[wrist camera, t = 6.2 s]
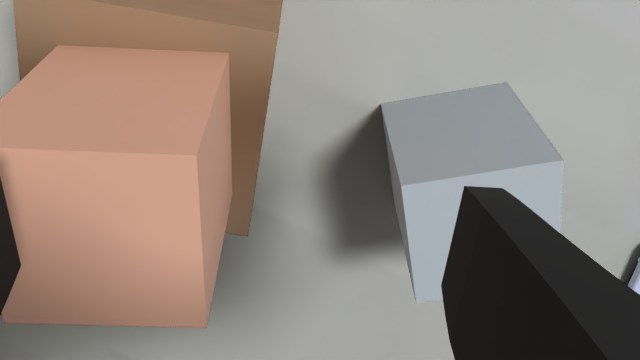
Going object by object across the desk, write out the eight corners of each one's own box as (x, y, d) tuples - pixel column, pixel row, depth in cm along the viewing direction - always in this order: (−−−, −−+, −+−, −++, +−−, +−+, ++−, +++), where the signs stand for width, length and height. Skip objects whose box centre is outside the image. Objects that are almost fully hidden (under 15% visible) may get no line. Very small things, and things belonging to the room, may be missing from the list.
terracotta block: (232, 193, 16) (206, 328, 12) (83, 188, 16) (4, 323, 12) (228, 53, 14) (197, 155, 10) (58, 45, 14) (-49, 145, 10)
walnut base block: (257, 165, 21) (248, 236, 17) (77, 139, 20) (30, 206, 17) (283, -10, 18) (278, 33, 14) (71, -49, 17) (12, -13, 13)
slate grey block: (508, 187, 21) (559, 282, 17) (394, 205, 21) (416, 303, 17) (506, 81, 19) (563, 160, 15) (380, 103, 19) (401, 186, 15)
